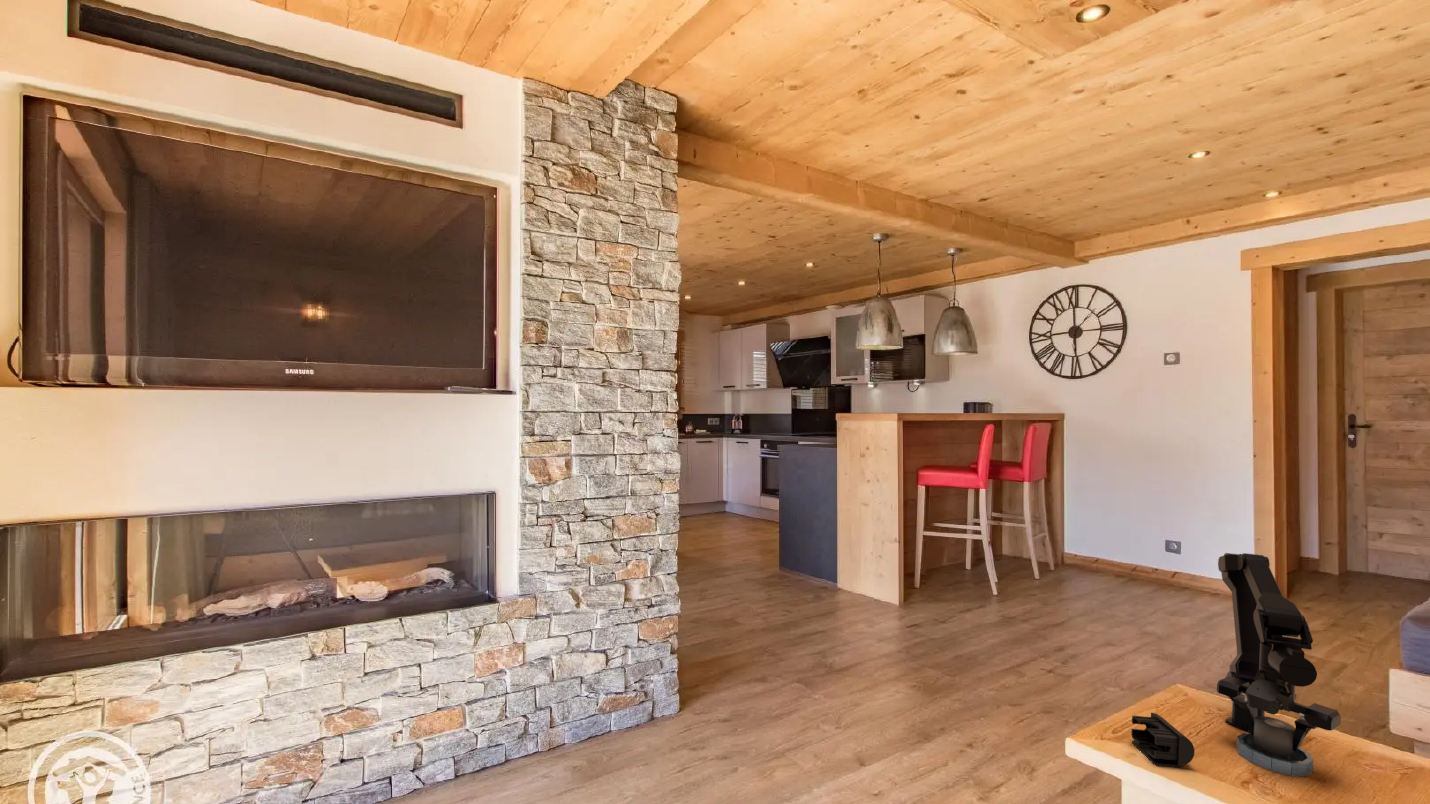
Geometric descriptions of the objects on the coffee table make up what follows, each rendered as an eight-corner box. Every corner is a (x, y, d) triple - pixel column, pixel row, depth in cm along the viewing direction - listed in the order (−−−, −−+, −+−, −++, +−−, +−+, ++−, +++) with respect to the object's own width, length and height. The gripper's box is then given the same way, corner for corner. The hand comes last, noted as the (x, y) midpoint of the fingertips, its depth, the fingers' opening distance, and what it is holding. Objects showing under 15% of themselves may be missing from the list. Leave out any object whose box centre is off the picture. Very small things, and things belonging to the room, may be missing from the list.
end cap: (1194, 771, 129) (1195, 737, 129) (1156, 767, 129) (1157, 733, 129) (1165, 744, 139) (1166, 713, 139) (1129, 741, 139) (1131, 710, 139)
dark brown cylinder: (1260, 736, 139) (1261, 712, 139) (1300, 751, 133) (1301, 726, 133) (1247, 744, 135) (1248, 719, 135) (1287, 759, 130) (1288, 733, 130)
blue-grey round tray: (1251, 739, 142) (1251, 728, 142) (1320, 766, 132) (1321, 754, 132) (1227, 752, 136) (1227, 741, 136) (1298, 781, 126) (1299, 769, 126)
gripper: (1206, 657, 138) (1203, 731, 138) (1322, 693, 122) (1318, 776, 122) (1229, 649, 144) (1226, 719, 144) (1343, 682, 128) (1339, 761, 128)
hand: (1274, 742), depth 134 cm, fingers closed on dark brown cylinder, 6 cm apart
